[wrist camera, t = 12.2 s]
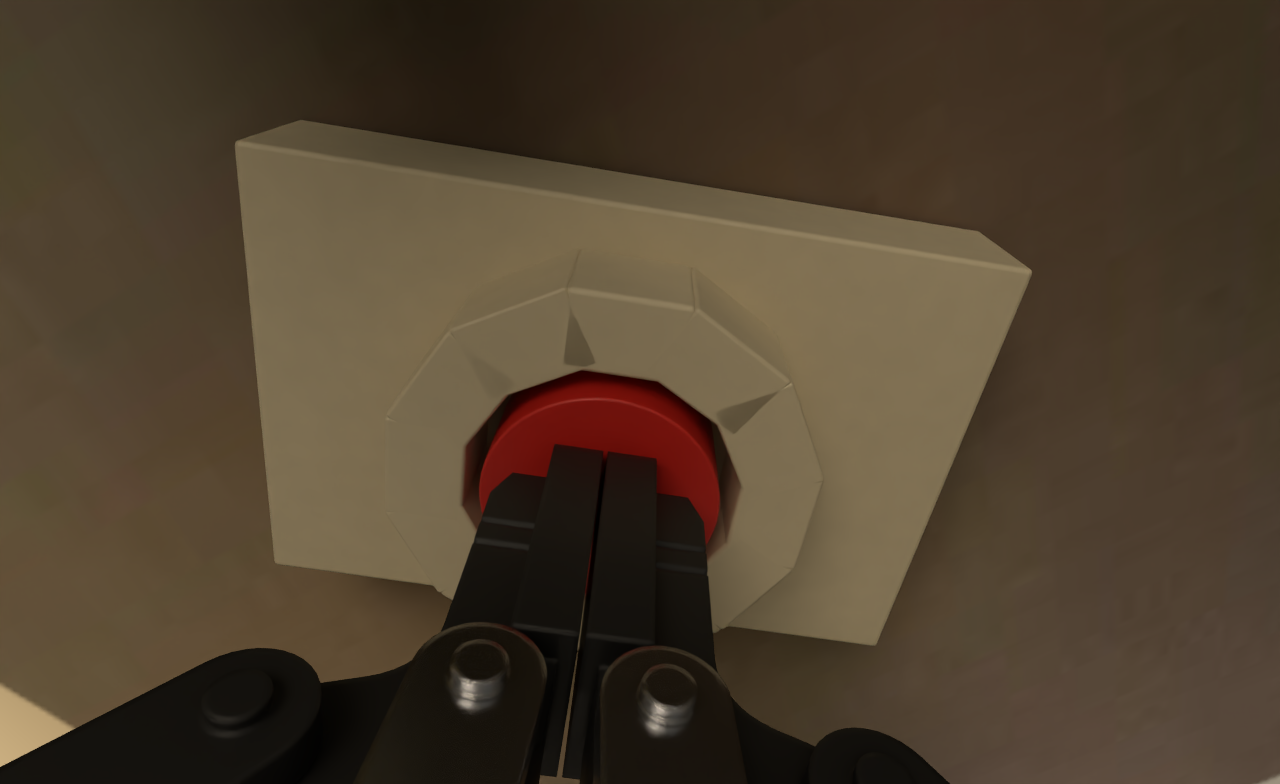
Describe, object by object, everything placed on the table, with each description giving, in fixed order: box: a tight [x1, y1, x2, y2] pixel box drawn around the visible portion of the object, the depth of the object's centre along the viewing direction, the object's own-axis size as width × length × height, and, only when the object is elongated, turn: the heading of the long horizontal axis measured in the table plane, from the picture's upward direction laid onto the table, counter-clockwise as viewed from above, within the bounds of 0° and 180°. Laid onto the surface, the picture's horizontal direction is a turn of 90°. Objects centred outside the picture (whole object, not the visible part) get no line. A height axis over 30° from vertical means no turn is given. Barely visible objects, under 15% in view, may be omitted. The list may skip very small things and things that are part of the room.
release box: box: [235, 120, 1032, 649], centre depth 13 cm, size 12×8×4 cm, turn 81°
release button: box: [479, 370, 720, 594], centre depth 12 cm, size 4×4×2 cm
